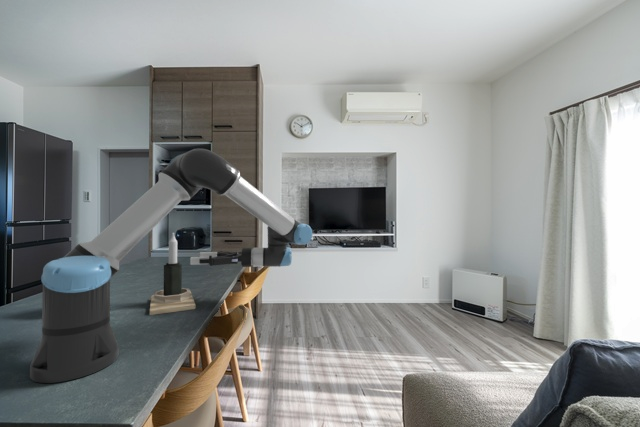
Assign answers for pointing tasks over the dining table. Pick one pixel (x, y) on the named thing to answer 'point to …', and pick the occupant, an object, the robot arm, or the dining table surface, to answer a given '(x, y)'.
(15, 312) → the dining table surface
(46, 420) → the dining table surface
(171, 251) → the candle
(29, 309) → the dining table surface
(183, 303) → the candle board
